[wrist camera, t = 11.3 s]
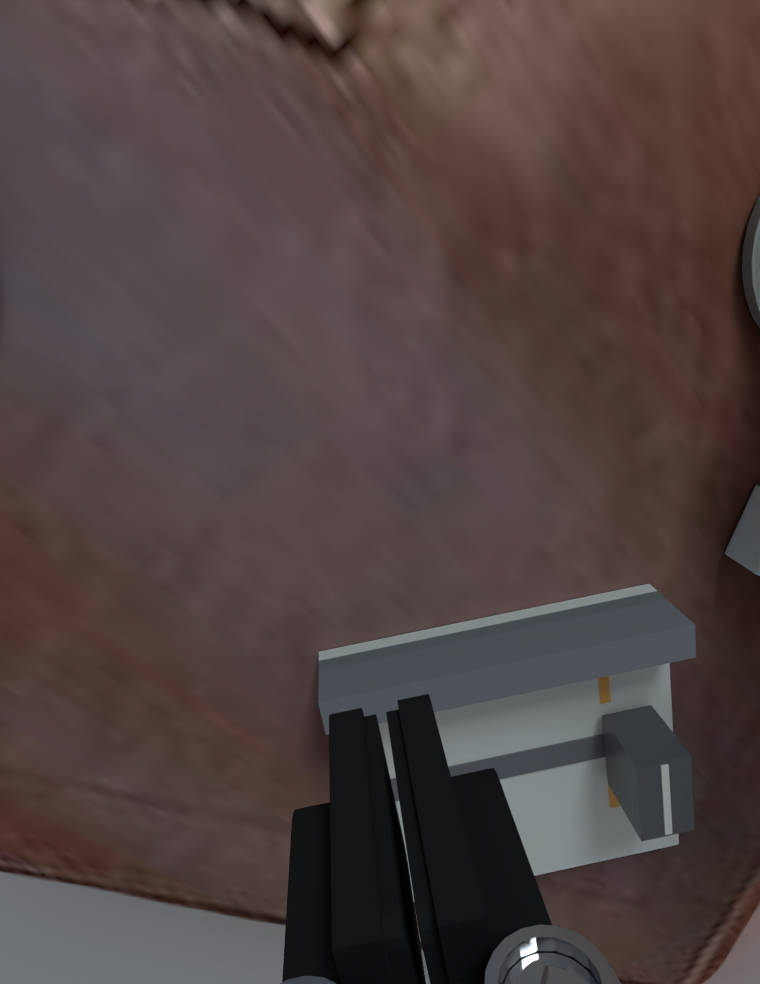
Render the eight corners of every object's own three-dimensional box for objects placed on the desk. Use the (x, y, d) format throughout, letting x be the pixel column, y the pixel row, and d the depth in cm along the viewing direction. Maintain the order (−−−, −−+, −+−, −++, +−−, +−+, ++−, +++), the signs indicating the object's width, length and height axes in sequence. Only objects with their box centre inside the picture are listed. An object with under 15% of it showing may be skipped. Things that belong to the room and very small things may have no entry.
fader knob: (651, 704, 38) (692, 757, 34) (655, 773, 40) (695, 831, 35) (601, 715, 38) (637, 769, 34) (607, 783, 40) (642, 842, 35)
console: (649, 583, 39) (694, 624, 34) (663, 820, 44) (704, 884, 39) (318, 651, 38) (318, 702, 33) (374, 882, 44) (381, 955, 39)
